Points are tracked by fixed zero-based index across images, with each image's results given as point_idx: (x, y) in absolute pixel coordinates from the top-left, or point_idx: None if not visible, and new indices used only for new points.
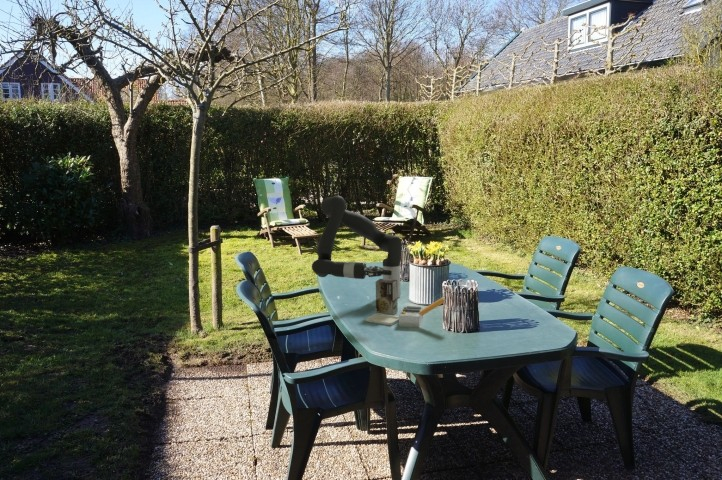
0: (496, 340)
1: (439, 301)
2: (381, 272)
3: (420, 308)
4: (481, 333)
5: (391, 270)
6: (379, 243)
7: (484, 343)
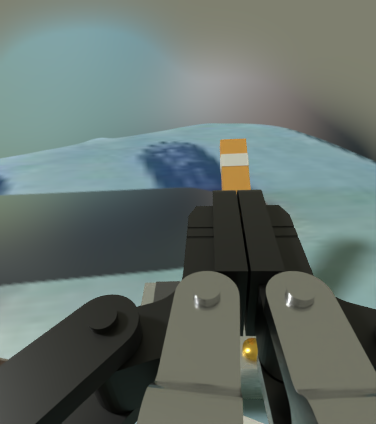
0: (295, 170)
1: (249, 182)
2: (362, 320)
3: (179, 282)
4: (261, 187)
5: (231, 191)
6: None
7: (327, 181)
